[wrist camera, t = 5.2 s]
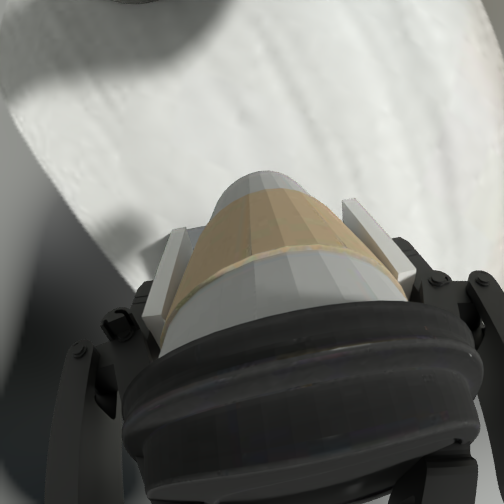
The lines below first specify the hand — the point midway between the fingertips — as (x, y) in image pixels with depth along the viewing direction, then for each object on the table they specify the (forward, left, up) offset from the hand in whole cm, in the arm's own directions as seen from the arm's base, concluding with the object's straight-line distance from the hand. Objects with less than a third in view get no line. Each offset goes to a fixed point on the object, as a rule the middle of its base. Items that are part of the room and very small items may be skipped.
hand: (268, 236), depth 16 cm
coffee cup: (0, 0, -3) cm, 3 cm away
